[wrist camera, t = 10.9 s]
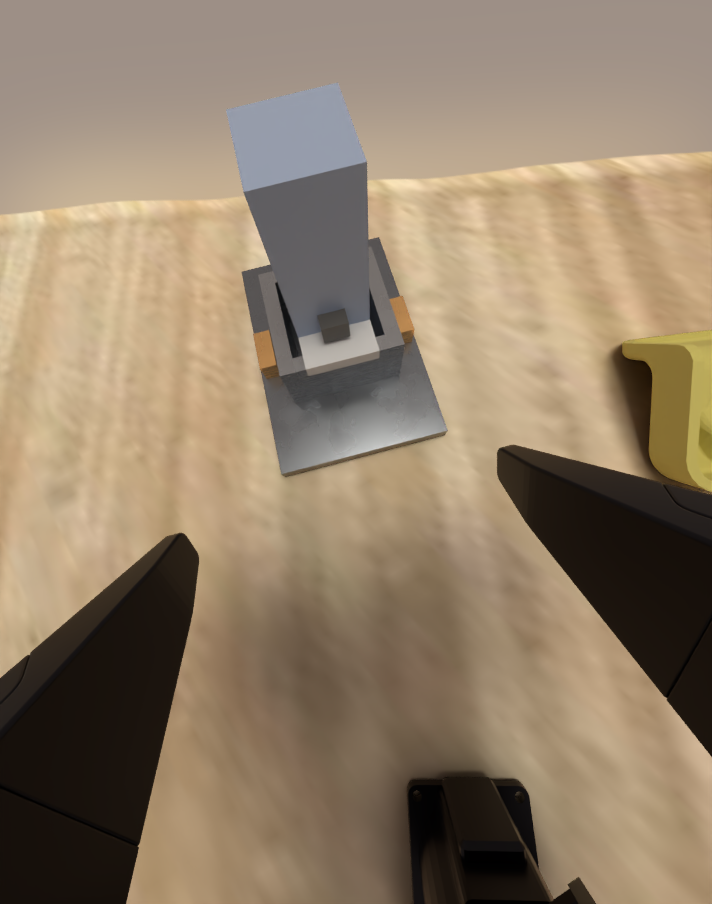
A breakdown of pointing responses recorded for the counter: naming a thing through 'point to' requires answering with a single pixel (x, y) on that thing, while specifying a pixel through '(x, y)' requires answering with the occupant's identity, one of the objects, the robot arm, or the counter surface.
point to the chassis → (342, 380)
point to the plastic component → (679, 404)
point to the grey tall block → (311, 218)
